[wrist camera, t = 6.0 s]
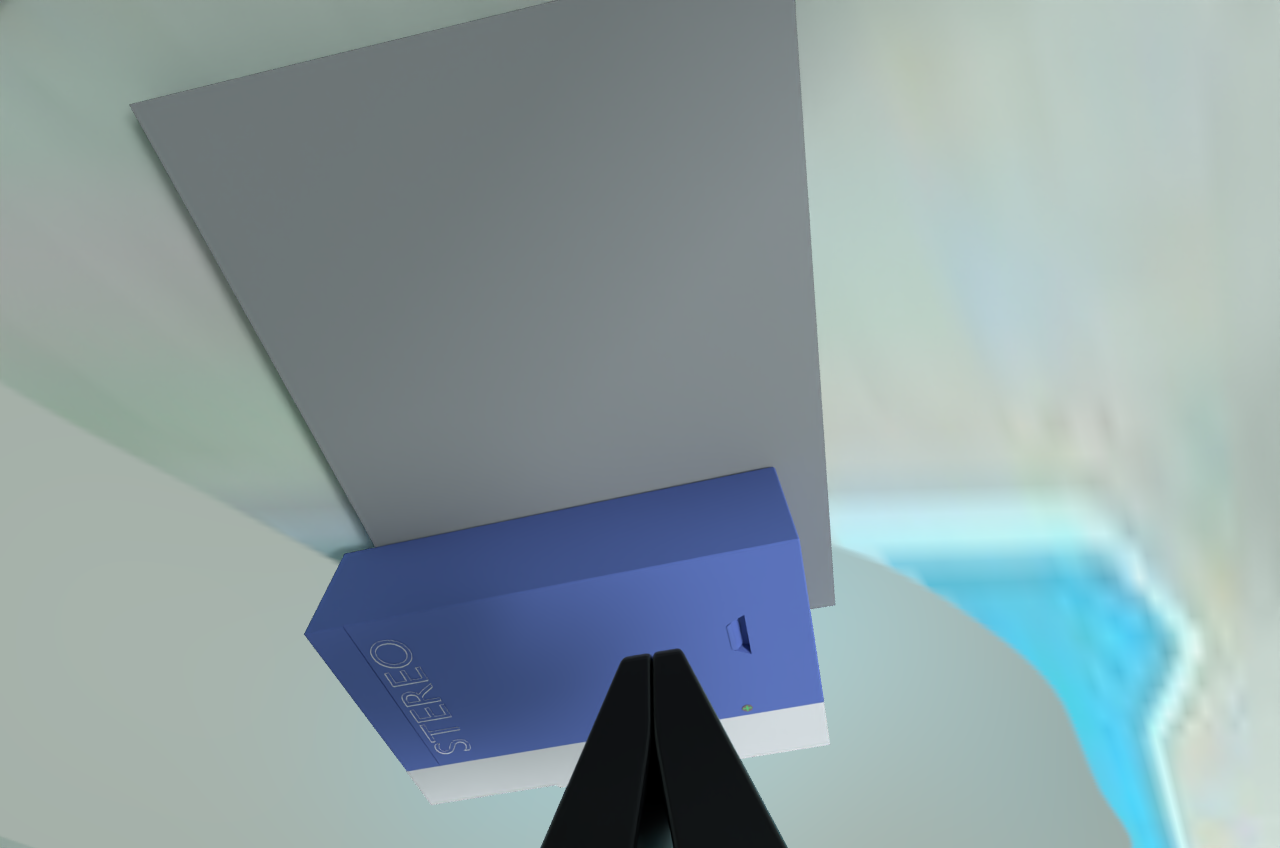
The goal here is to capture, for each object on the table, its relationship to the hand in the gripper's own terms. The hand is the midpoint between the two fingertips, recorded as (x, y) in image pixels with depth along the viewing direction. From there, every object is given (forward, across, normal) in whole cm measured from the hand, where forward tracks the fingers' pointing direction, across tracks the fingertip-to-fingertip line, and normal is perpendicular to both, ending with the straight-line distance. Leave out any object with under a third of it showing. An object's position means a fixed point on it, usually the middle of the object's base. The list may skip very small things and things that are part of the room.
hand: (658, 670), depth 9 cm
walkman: (+6, -3, +6) cm, 9 cm away
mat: (+8, +2, 0) cm, 8 cm away
